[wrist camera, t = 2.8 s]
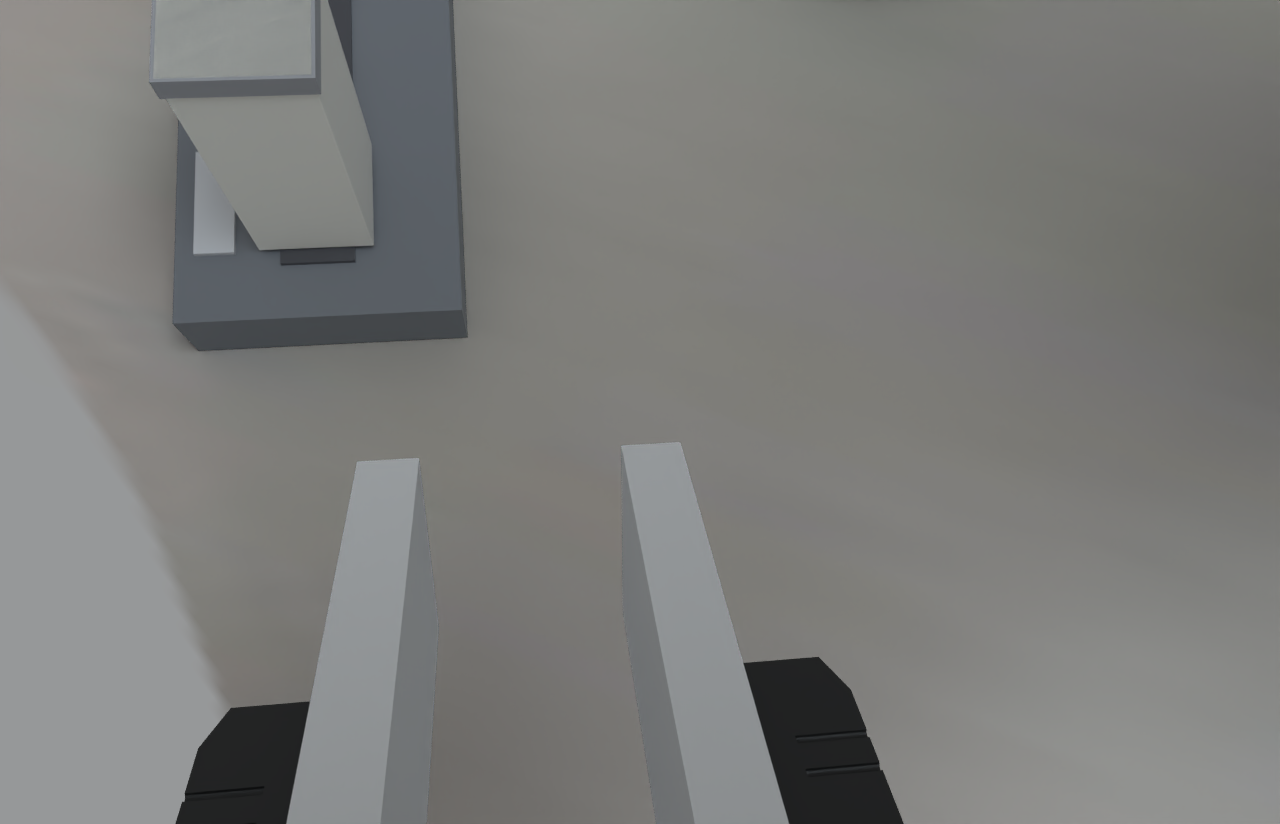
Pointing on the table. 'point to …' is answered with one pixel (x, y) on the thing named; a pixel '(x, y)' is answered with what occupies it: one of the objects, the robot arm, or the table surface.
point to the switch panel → (402, 211)
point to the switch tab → (270, 115)
